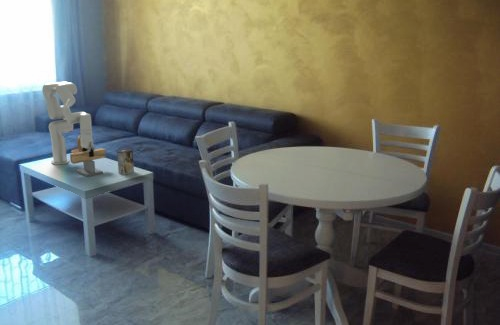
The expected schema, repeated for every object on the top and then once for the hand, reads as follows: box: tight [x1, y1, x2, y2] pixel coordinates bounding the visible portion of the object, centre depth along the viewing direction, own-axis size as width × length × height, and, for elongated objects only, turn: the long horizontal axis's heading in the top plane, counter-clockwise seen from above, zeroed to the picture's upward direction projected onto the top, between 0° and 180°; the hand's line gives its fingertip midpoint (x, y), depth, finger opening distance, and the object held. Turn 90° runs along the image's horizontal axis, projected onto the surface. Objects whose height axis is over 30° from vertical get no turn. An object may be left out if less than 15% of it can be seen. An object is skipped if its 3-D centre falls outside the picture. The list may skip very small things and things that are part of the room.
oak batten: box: [69, 147, 106, 165], centre depth 333 cm, size 4×24×6 cm, turn 136°
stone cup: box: [70, 135, 89, 154], centre depth 381 cm, size 15×12×15 cm
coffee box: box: [116, 148, 135, 176], centre depth 336 cm, size 9×6×16 cm
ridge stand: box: [75, 160, 104, 178], centre depth 335 cm, size 16×12×10 cm
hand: (88, 155), depth 333 cm, fingers open, 9 cm apart
